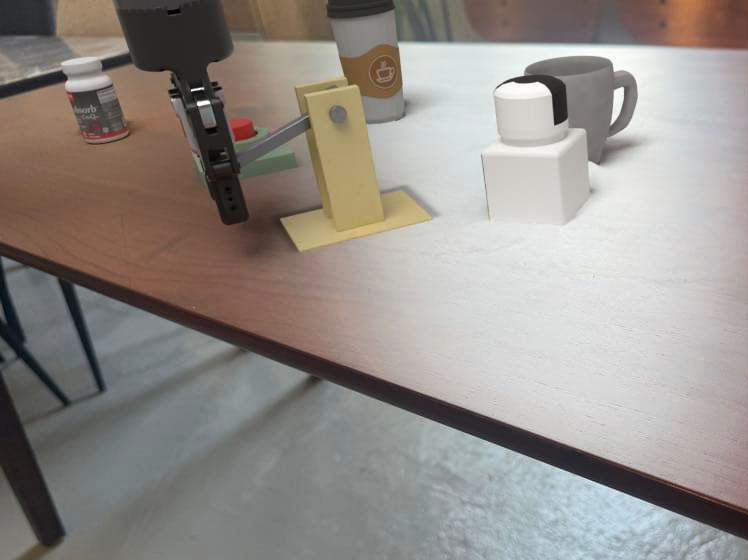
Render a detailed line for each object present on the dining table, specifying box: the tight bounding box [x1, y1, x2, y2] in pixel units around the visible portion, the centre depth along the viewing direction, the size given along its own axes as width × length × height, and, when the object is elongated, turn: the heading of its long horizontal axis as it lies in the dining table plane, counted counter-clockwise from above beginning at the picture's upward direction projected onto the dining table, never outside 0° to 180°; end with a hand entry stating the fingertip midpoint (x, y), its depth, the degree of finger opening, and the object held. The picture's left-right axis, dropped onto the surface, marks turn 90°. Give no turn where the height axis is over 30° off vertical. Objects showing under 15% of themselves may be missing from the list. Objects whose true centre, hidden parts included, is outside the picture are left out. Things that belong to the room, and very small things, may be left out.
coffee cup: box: [325, 0, 406, 125], centre depth 107 cm, size 8×8×15 cm
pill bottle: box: [60, 56, 130, 144], centre depth 113 cm, size 6×6×10 cm
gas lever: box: [209, 85, 338, 168], centre depth 72 cm, size 13×5×2 cm, turn 115°
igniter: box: [190, 126, 298, 188], centre depth 96 cm, size 10×9×4 cm
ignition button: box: [229, 117, 256, 142], centre depth 95 cm, size 4×4×2 cm
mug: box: [523, 55, 639, 165], centre depth 87 cm, size 12×9×10 cm
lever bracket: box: [279, 75, 433, 254], centre depth 75 cm, size 12×9×13 cm
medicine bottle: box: [480, 75, 591, 227], centre depth 74 cm, size 7×7×12 cm
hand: (230, 209), depth 73 cm, fingers open, 6 cm apart
